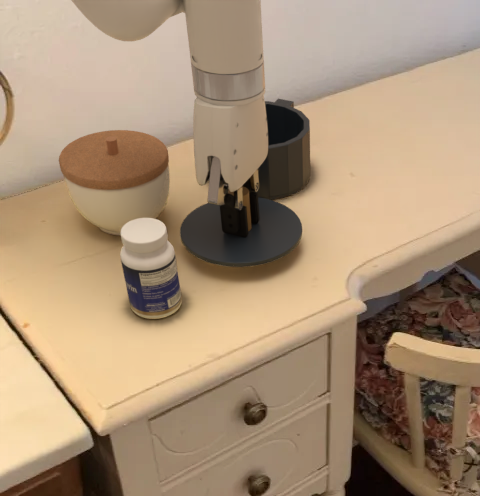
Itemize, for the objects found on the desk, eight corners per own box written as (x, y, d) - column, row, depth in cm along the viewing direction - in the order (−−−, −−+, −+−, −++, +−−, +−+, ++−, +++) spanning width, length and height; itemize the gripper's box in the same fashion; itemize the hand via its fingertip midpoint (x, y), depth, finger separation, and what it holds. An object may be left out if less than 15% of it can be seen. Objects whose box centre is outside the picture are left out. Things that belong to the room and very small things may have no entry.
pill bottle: (125, 295, 95) (110, 219, 88) (176, 285, 96) (164, 210, 90) (136, 325, 91) (120, 249, 84) (188, 314, 93) (177, 238, 86)
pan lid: (158, 255, 98) (151, 209, 94) (214, 195, 108) (209, 151, 104) (273, 282, 95) (271, 236, 91) (319, 218, 105) (319, 174, 101)
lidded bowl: (185, 197, 110) (175, 117, 103) (165, 251, 101) (152, 168, 94) (90, 191, 110) (73, 111, 102) (60, 244, 101) (39, 161, 93)
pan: (184, 198, 110) (177, 145, 105) (244, 135, 123) (241, 86, 118) (279, 219, 108) (277, 166, 102) (330, 153, 121) (331, 103, 116)
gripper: (229, 44, 94) (241, 189, 107) (159, 102, 83) (181, 256, 96) (291, 55, 93) (295, 200, 106) (228, 115, 82) (241, 270, 94)
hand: (241, 226), depth 101 cm, fingers closed on pan lid, 2 cm apart
